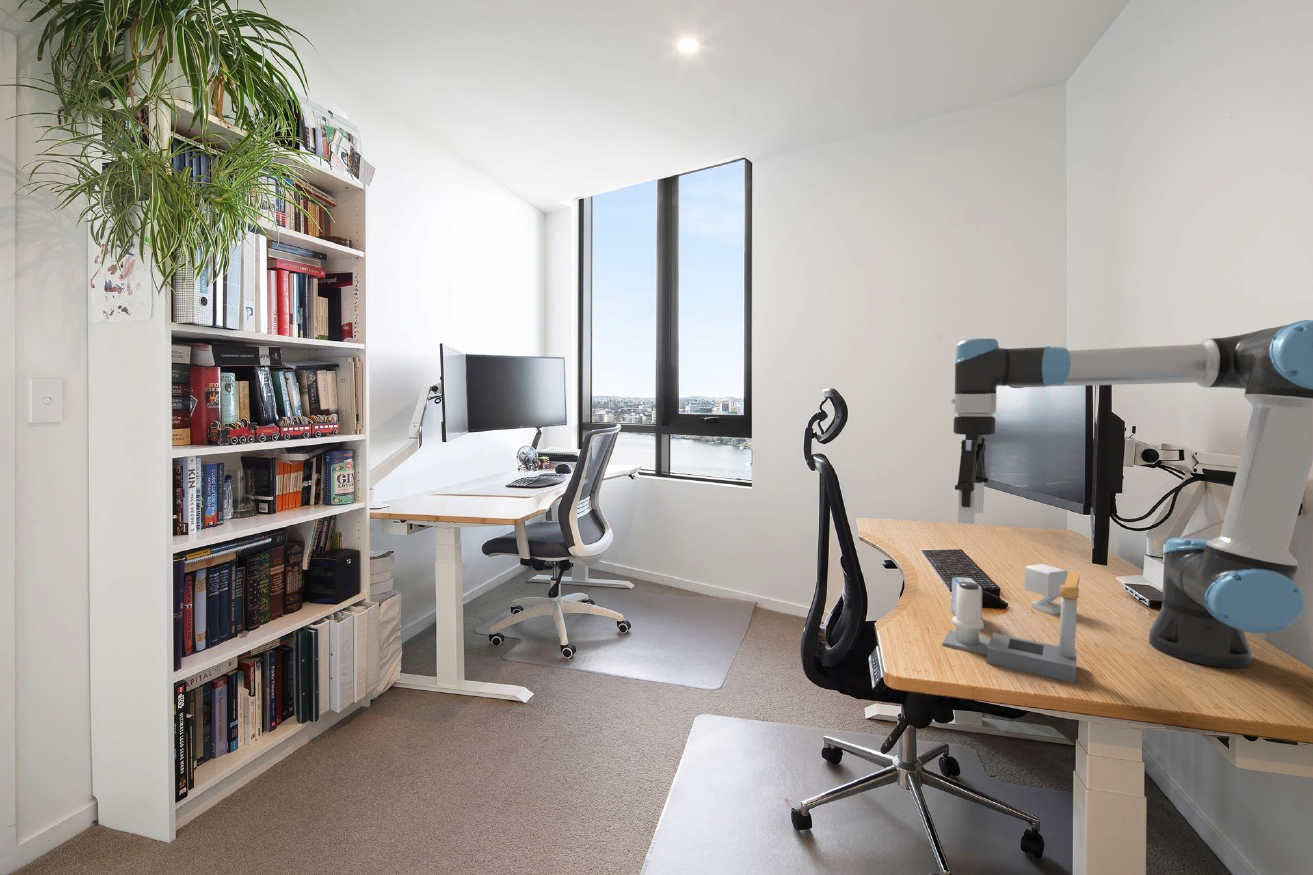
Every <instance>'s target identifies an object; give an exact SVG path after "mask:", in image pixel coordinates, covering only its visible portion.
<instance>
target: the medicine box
mask: <svg viewBox="0 0 1313 875" xmlns="http://www.w3.org/2000/svg"><path fill="white" fill-rule="evenodd" d="M959 582H972V583H976V584H978V583H977V582H976V581H975V580H973V579H972V578H970V577H959V576H958V577H957V576H956V577H952V579H951V605H950V606H951V608H950V609H951V611H950V612H951V613H952V614H954V616H956V600H957V585H958V584H959ZM979 587H980V588H981V598H980V620H982V621H983V617H982V615H983V588H982V587H981V586H980V585H979Z"/></svg>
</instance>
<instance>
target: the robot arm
mask: <svg viewBox="0 0 1313 875" xmlns="http://www.w3.org/2000/svg"><path fill="white" fill-rule="evenodd" d="M955 351H956V353H955V362H954V394H955V395H954V398H953V399H951V404H954V409H953V410H954V414H957V415H956V416H954V417H953V433H954V434H956V435H964V436H965V439H962V440H961V442H960V444H961V447H960V448H961V452H960V462H959V471H958V477H957V478H958V480H957V483H956V484H955V485H954V489H955V491H958V518H957V520H958V521H957V522H958V523H959V524H967V525H968V524H969V525H975V513H976V514H984V501H985V499H984V497H985V483H987V484H988V483H989V477H986V476H987V475H986V461H985V460H986V458H985V457H986V443H985V442H986V439H985V437H983V436H992V435H994V434H995V433H996V418H997V417H996V418H995V416H993V414H996V413H997V396H998V394H997V388H998V386H1000V387H1009V388H1012V389H1022V388H1023V389H1024V388H1040V387H1041V388H1045V387H1072V386H1074V387H1075V386H1076V387H1078V386H1113V385H1114V386H1115V385H1117V386H1118V385H1120V386H1121V385H1151V384H1152V385H1153V384H1156V385H1158V384H1192V383H1193V384H1194V383H1195V384H1197V385H1199V387H1201V388H1225V389H1226V388H1227V389H1228V388H1229V389H1242V390H1245V391H1244V395H1243V397H1244V398H1245V399H1246V400H1247V401H1248V402H1249V403H1250V404H1251V405H1252V407H1253V408H1252V411H1251V416H1250V418H1249V423H1248V426H1247V427H1248V428H1247V430H1246V435H1245V439H1244V442H1243V446H1242V450H1241V454H1240V458H1239V461H1238V464H1237V469H1236V474H1235V477H1234V480H1233V483H1232V484H1233V486H1232V489H1231V492H1230V497H1229V500H1228V504H1227V508H1226V512H1225V515H1224V520H1223V524H1222V528H1221V531H1220V534H1219V536H1217V537H1215V538H1213V539H1201V538H1189V537H1188V538H1187V537H1172V538H1169V539H1167V541H1166V542H1165V548H1164V550H1163V553H1162V554H1163V577H1162V579H1163V580H1162V602H1161V609H1160V611H1159V612H1158V614H1157V616H1156V618H1155V619H1154V622H1153V624H1152V626H1151V627H1150V630H1149V634H1148V635H1149V638H1148V641H1149V644H1150V645H1151V646H1152V647H1154V648H1155V649H1156V650H1158V651H1161V652H1162V653H1164V654H1167V655H1170V656H1173V657H1175V658H1178V659H1180V660H1185V661H1188V662H1191V663H1195V664H1196V663H1197V664H1200V665H1205V666H1211V667H1217V668H1218V667H1219V668H1226V669H1227V668H1229V669H1230V668H1231V669H1239V668H1240V669H1242V668H1247V667H1249V666H1251V665H1252V659H1253V658H1252V655H1253V652H1252V649H1251V647H1250V644H1249V641H1248V638H1247V635H1246V633H1251V634H1270V633H1275V632H1277V631H1280V630H1284V629H1286V628H1289V627H1290V626H1292V625H1293V624H1294V623H1295V622H1297V621H1298V620H1299V618H1300V617H1301V616H1302V613H1303V611H1304V609H1305V598H1304V595H1303V592H1302V591H1301V590H1300V588H1299V586H1298V585H1297V584H1296V583H1295V577H1296V573H1297V570H1298V565H1299V562H1298V561H1297V559H1296V558H1295V557H1294V556H1293V555H1292V554H1291V553H1290V549H1289V548H1290V545H1291V541H1292V538H1293V534H1294V530H1295V527H1296V523H1297V519H1298V517H1299V512H1300V510H1301V509H1300V508H1301V504H1302V501H1303V498H1304V495H1305V490H1306V487H1307V483H1308V479H1309V476H1310V472H1311V468H1312V465H1313V319H1311V320H1310V319H1308V320H1307V319H1306V320H1299V321H1296V322H1291V323H1289V324H1284V325H1280V326H1275V327H1271V328H1269V327H1268V328H1264V329H1260V330H1257V331H1252V332H1249V333H1243V334H1238V335H1233V336H1226V337H1216V338H1214V337H1213V338H1211V337H1210V338H1205V339H1203V340H1201V341H1200V342H1199V343H1197V344H1195V343H1194V344H1179V345H1178V344H1177V345H1174V344H1173V345H1157V346H1154V345H1153V346H1137V347H1135V346H1134V347H1115V348H1114V347H1113V348H1098V349H1097V348H1096V349H1095V348H1094V349H1075V350H1068V349H1067V348H1066V347H1064V346H1050V345H1049V346H1043V347H1042V346H1040V347H1039V346H1038V347H1019V348H1015V347H1014V348H1003V347H1000V346H999V341H998V340H997V339H995V338H970V339H965V340H964V339H963V340H961V341H960V342H958V344H957V346H956V350H955ZM1245 632H1246V633H1245Z"/></svg>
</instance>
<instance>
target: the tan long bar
mask: <svg viewBox="0 0 1313 875" xmlns="http://www.w3.org/2000/svg"><path fill="white" fill-rule="evenodd" d="M1080 576H1081V574H1080V573H1078V572H1073V571H1068V576H1067V579H1066V582H1065V585H1060V596H1062V597H1065V598H1069V599H1077V600H1078V599H1079V595H1080V594H1079V592H1080V591H1079V590H1080V588H1079V583H1080Z"/></svg>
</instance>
